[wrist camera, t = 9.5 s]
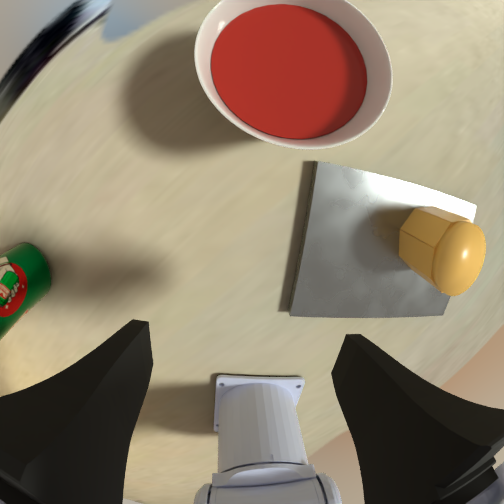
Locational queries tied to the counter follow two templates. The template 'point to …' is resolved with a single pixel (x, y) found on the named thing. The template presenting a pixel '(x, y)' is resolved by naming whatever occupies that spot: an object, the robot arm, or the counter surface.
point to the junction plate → (363, 247)
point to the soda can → (21, 283)
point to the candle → (294, 70)
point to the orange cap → (442, 248)
